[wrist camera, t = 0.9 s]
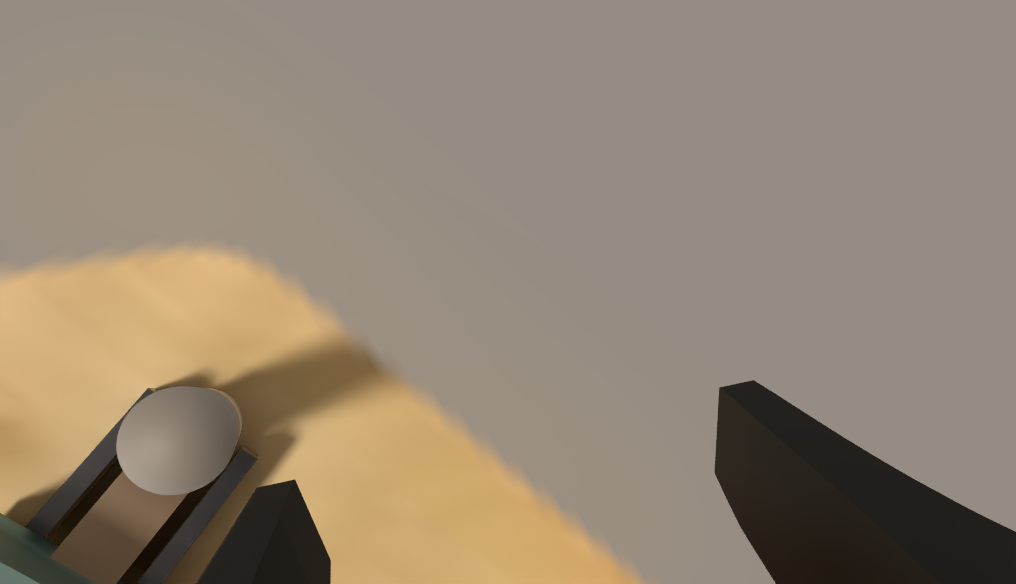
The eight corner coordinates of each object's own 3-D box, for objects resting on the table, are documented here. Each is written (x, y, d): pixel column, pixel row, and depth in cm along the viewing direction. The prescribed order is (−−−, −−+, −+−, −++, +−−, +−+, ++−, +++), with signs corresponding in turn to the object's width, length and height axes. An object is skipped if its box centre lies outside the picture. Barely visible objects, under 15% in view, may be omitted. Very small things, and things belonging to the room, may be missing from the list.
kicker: (152, 650, 20) (88, 810, 12) (-39, 545, 18) (-245, 653, 11) (305, 444, 22) (330, 471, 15) (148, 340, 21) (88, 311, 13)
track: (157, 584, 20) (150, 597, 19) (40, 518, 19) (25, 527, 18) (257, 455, 22) (257, 458, 21) (154, 388, 21) (147, 388, 20)
